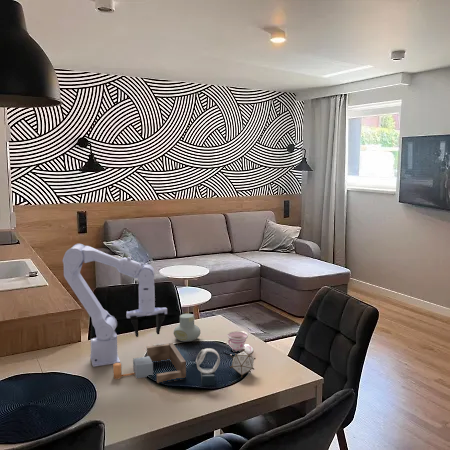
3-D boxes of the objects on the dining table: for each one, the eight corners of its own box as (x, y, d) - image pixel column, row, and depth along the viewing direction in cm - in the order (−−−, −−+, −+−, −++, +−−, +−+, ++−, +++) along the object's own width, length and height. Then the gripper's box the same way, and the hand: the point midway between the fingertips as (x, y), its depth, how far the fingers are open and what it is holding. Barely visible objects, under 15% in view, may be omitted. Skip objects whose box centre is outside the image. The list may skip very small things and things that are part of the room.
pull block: (114, 381, 154) (114, 368, 153) (112, 374, 159) (112, 361, 159) (153, 375, 158) (152, 363, 158) (149, 368, 164) (149, 356, 163)
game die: (240, 381, 163) (243, 352, 168) (259, 380, 157) (261, 350, 162) (223, 375, 157) (226, 346, 162) (242, 374, 152) (244, 343, 157)
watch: (195, 377, 157) (195, 346, 156) (219, 377, 158) (219, 345, 156) (195, 385, 152) (195, 353, 150) (220, 384, 152) (220, 352, 151)
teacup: (237, 342, 189) (237, 327, 188) (259, 350, 181) (260, 335, 180) (215, 350, 181) (215, 334, 180) (238, 359, 172) (238, 343, 171)
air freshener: (170, 339, 191) (169, 315, 190) (182, 333, 198) (182, 310, 197) (191, 345, 185) (191, 321, 184) (203, 338, 192) (203, 315, 191)
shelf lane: (157, 383, 153) (157, 365, 153) (147, 362, 169) (146, 346, 168) (185, 378, 157) (185, 361, 156) (172, 358, 173) (172, 342, 172)
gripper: (128, 303, 162) (129, 341, 164) (169, 299, 168) (169, 335, 169) (125, 298, 169) (126, 334, 171) (164, 294, 174) (164, 329, 176)
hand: (147, 334), depth 171 cm, fingers open, 7 cm apart
